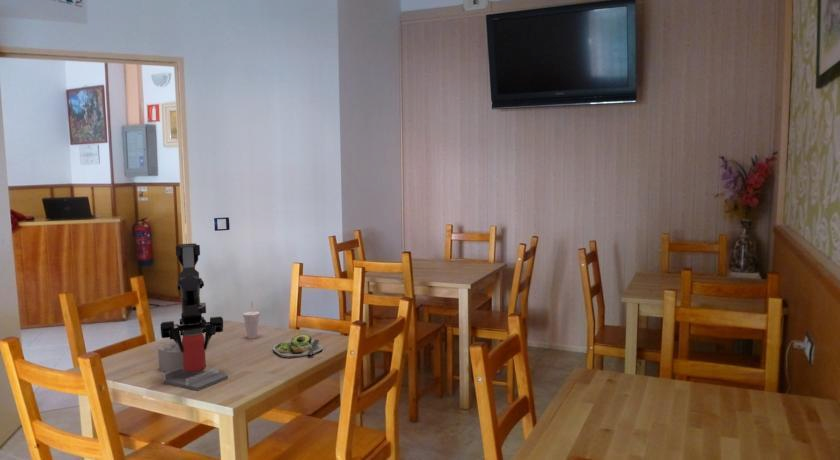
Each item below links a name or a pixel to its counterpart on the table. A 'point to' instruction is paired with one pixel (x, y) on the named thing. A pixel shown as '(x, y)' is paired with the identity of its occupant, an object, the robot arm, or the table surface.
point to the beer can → (193, 351)
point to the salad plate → (298, 347)
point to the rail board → (193, 378)
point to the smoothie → (251, 323)
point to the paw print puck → (170, 357)
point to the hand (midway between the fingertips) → (193, 350)
